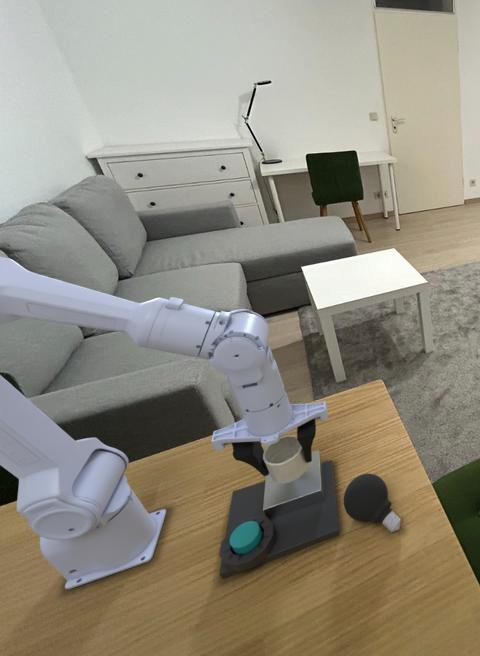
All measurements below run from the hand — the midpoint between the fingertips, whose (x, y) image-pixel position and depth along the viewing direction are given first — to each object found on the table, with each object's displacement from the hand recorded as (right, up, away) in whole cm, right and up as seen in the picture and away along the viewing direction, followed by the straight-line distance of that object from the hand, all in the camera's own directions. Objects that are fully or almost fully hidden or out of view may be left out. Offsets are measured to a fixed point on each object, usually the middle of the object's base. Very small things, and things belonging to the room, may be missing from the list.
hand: (287, 463), depth 59 cm
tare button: (-3, -8, -5) cm, 10 cm away
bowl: (0, -1, +1) cm, 1 cm away
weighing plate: (0, -6, +3) cm, 7 cm away
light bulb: (+13, -8, +1) cm, 15 cm away
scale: (-1, -8, 0) cm, 8 cm away
